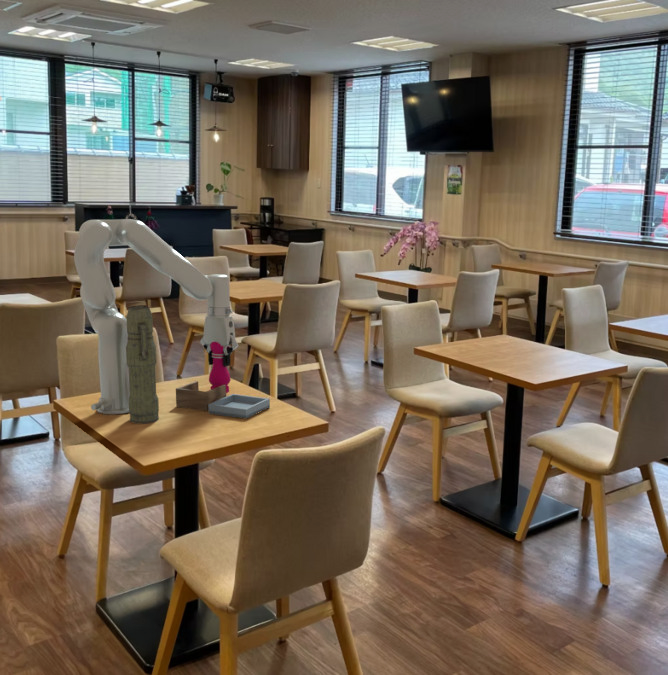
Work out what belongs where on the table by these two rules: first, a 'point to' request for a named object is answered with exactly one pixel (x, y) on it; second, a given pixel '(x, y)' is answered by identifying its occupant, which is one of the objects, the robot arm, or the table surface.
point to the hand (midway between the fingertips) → (219, 364)
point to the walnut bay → (198, 396)
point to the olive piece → (141, 365)
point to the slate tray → (238, 406)
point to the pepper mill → (218, 368)
